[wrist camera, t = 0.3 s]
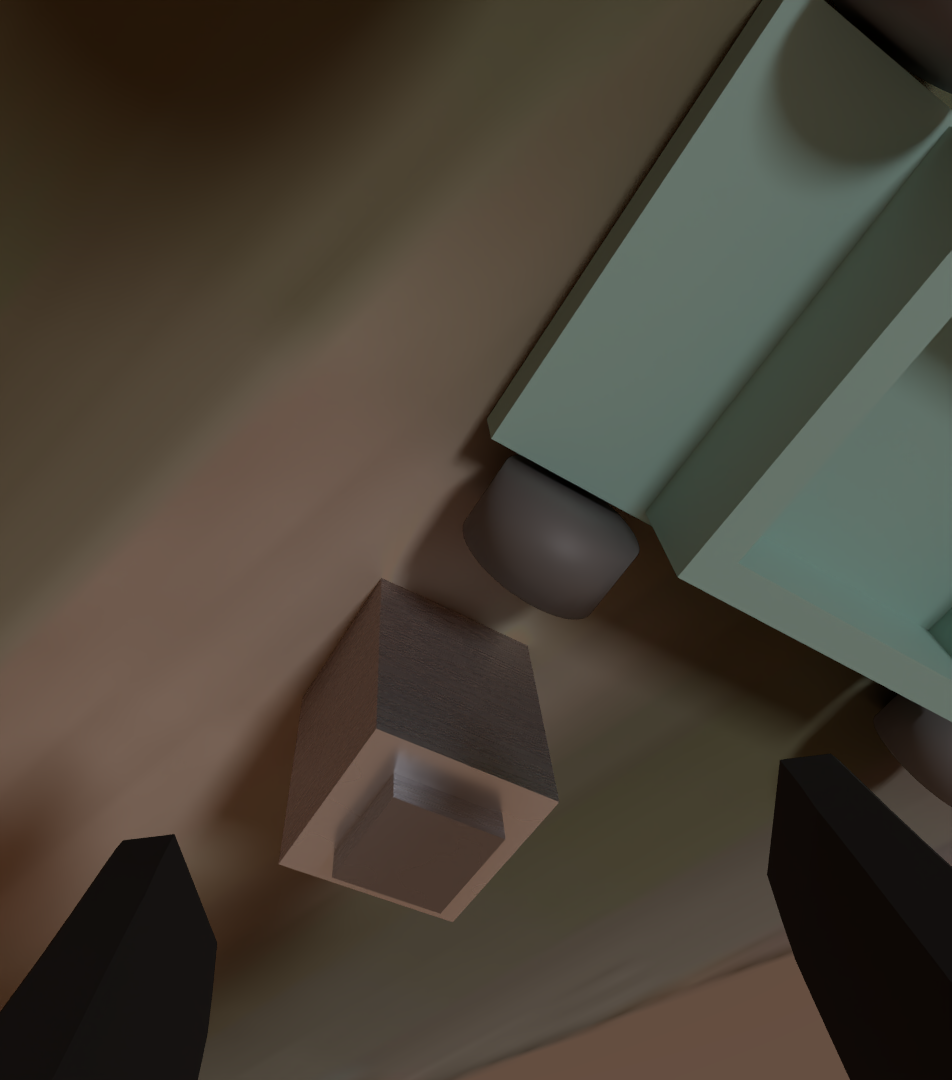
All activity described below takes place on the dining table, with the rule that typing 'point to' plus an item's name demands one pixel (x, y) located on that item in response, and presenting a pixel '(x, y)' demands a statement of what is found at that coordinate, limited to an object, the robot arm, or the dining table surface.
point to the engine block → (417, 757)
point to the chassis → (767, 366)
